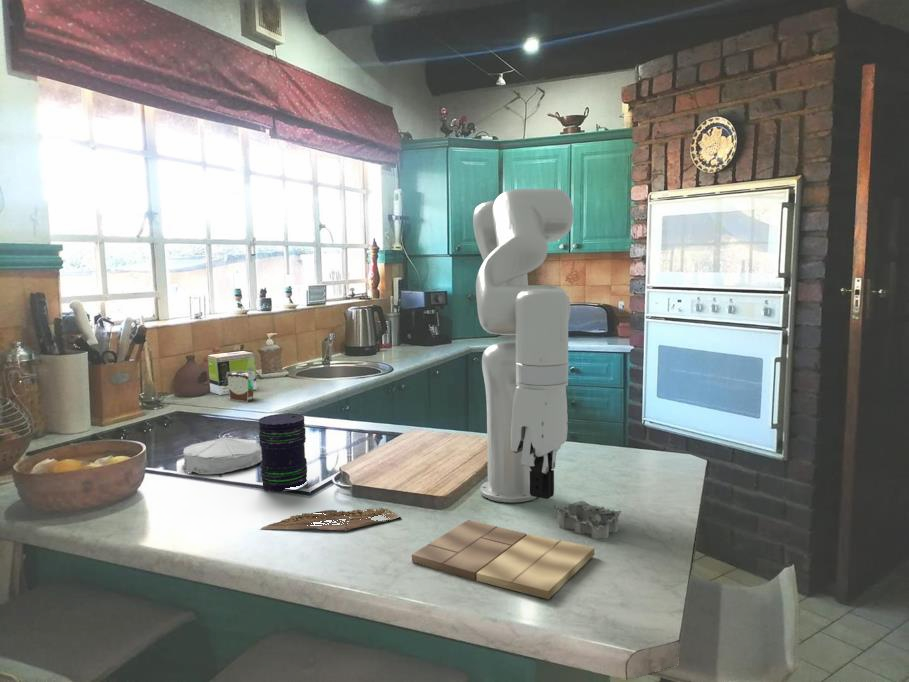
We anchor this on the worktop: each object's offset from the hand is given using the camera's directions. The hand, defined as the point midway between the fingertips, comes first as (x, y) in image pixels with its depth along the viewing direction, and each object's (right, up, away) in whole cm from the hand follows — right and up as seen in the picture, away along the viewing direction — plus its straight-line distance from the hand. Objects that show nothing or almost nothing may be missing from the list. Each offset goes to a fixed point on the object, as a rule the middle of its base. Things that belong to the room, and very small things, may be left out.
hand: (541, 495), depth 99 cm
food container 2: (-89, +2, +142) cm, 168 cm away
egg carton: (+11, -11, +22) cm, 27 cm away
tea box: (-98, +3, +159) cm, 187 cm away
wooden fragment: (-36, -12, +26) cm, 46 cm away
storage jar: (-50, -9, +48) cm, 70 cm away
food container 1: (-70, -8, +65) cm, 96 cm away
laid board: (-10, -12, +12) cm, 20 cm away
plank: (0, -13, +6) cm, 14 cm away
